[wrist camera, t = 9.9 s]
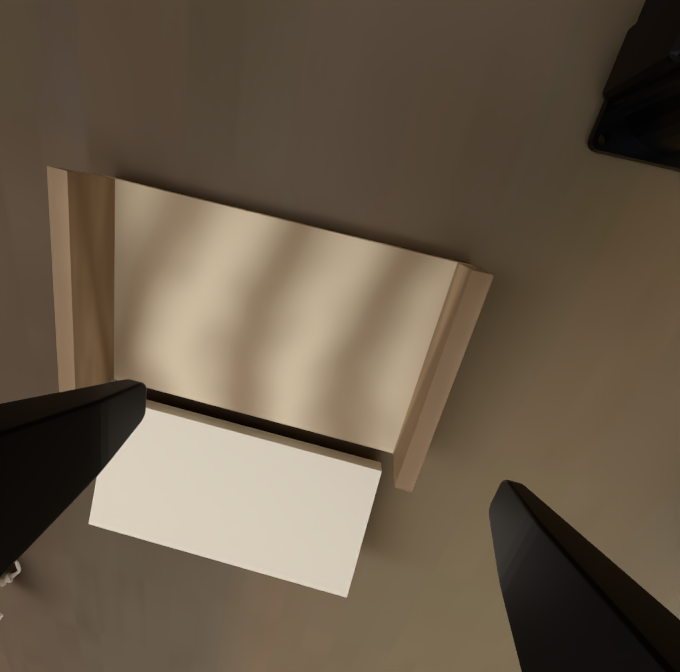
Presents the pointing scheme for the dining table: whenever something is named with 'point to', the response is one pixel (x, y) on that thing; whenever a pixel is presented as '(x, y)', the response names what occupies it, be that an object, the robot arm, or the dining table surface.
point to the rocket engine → (9, 578)
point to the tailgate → (239, 497)
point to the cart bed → (257, 313)
